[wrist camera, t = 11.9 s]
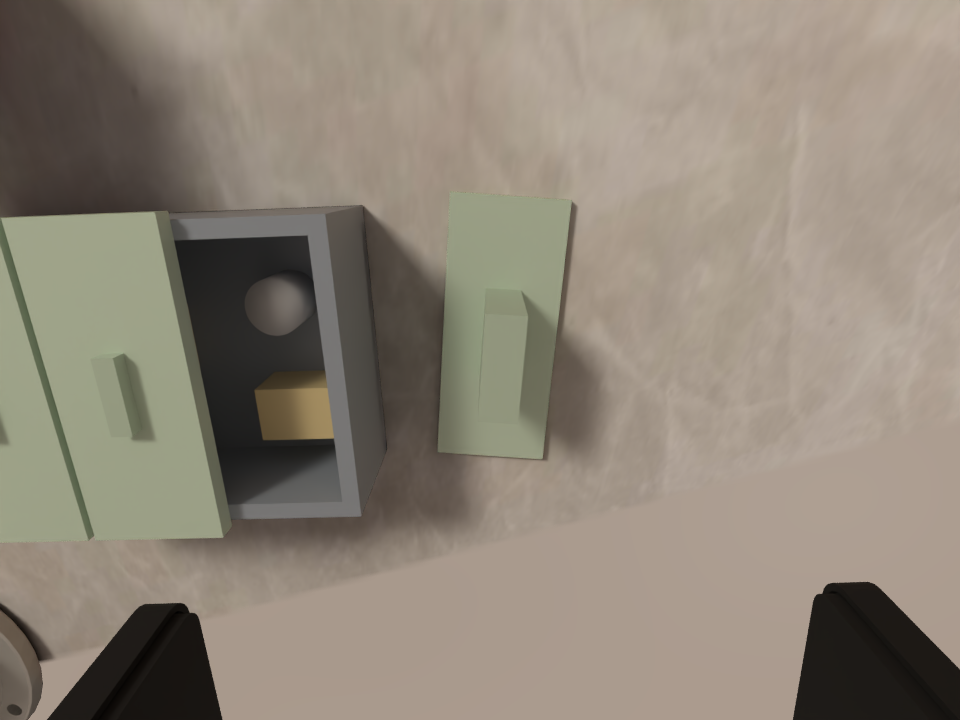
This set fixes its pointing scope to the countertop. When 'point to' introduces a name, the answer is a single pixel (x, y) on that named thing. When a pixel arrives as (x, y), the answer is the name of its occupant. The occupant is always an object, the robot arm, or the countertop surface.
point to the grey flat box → (286, 356)
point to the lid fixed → (101, 385)
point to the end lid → (500, 322)
